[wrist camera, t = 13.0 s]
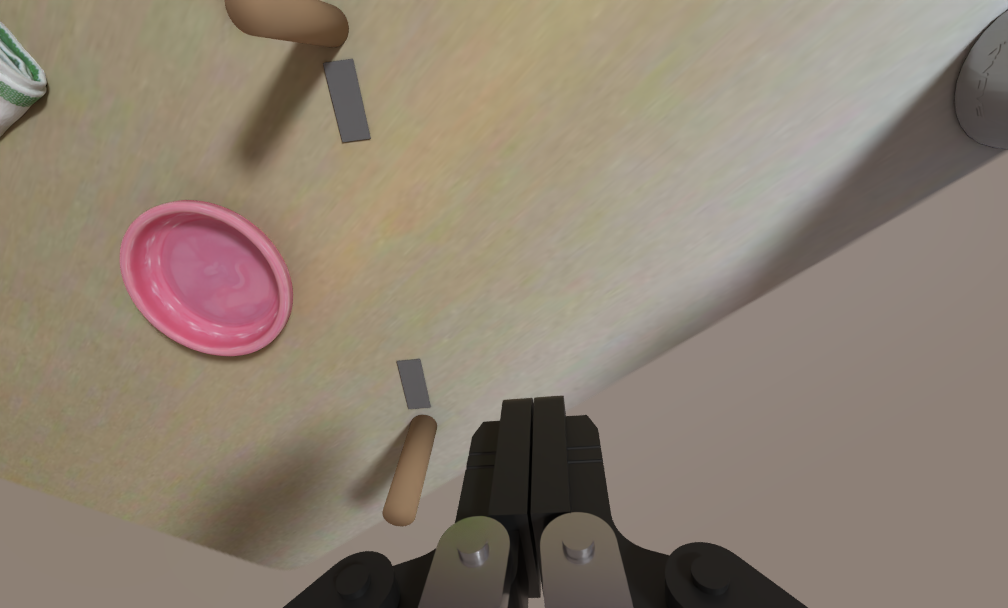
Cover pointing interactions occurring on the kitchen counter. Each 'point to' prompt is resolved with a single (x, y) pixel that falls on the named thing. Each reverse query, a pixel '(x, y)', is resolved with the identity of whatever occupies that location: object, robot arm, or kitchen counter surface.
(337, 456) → the kitchen counter surface
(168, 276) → the pink shallow bowl
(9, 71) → the dish towel
